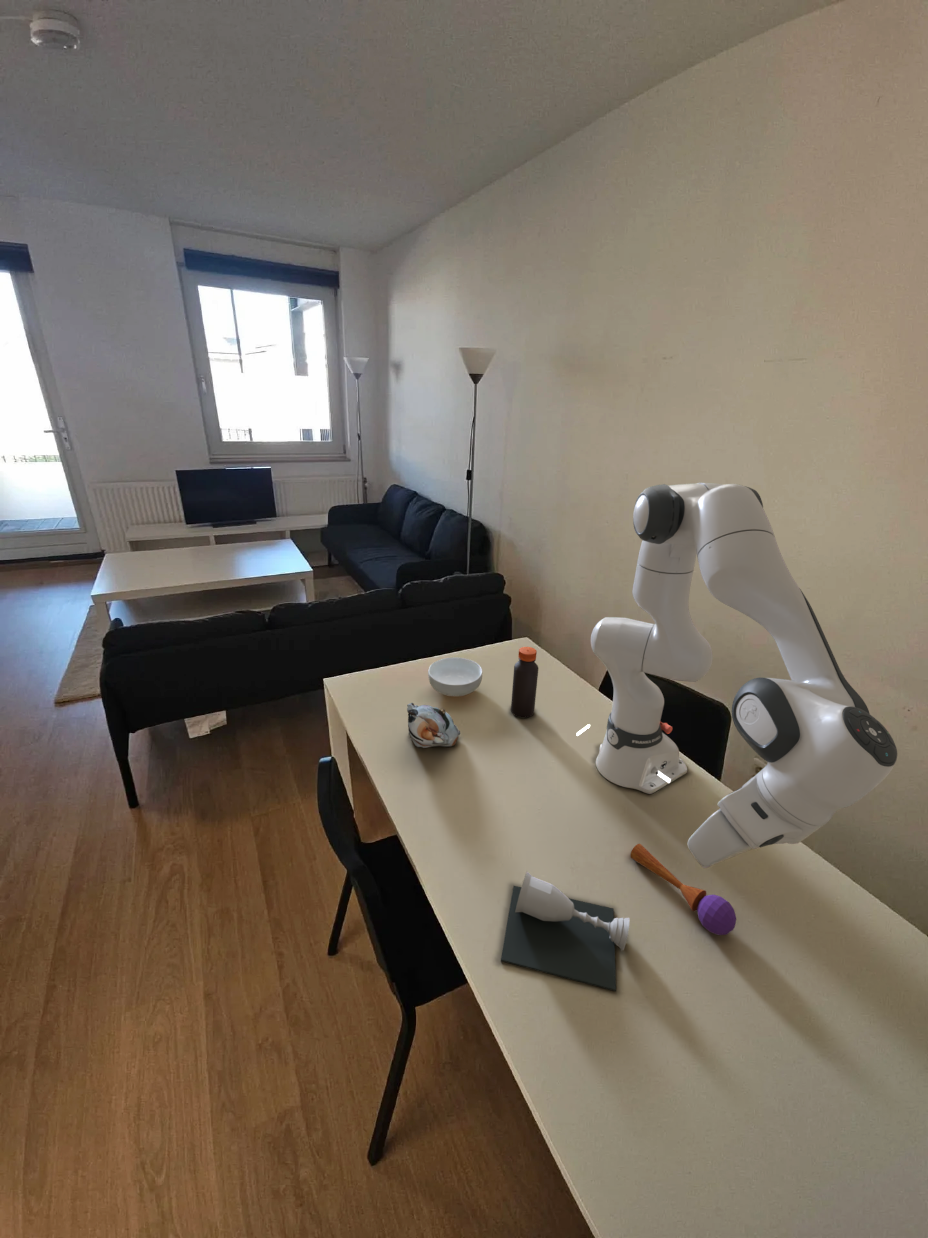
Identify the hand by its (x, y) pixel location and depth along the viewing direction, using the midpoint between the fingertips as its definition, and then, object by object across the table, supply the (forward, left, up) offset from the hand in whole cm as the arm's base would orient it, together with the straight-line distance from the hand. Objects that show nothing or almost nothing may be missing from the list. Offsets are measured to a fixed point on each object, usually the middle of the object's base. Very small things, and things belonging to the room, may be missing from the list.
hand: (717, 855), depth 75 cm
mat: (+18, -11, -22) cm, 30 cm away
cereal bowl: (+5, -90, -22) cm, 93 cm away
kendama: (-7, -9, -22) cm, 25 cm away
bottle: (-9, -72, -22) cm, 76 cm away
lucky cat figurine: (+20, -68, -22) cm, 74 cm away
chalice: (+9, -5, -20) cm, 22 cm away
